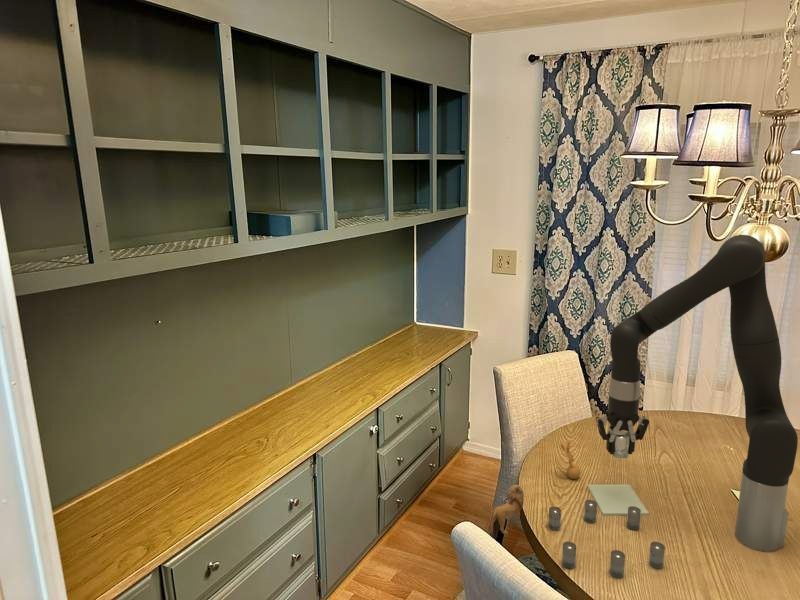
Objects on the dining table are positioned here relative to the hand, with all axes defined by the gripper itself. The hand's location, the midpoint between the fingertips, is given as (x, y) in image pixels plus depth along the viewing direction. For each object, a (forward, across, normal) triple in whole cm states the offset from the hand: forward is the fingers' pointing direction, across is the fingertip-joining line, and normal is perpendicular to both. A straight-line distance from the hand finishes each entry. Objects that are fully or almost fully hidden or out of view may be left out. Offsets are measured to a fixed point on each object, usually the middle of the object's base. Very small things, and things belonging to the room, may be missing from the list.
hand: (619, 452), depth 149 cm
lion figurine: (+15, +32, +11) cm, 37 cm away
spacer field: (+14, +10, +19) cm, 26 cm away
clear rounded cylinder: (0, 0, 0) cm, 0 cm away
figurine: (+15, +10, -12) cm, 21 cm away
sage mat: (+14, 0, 0) cm, 14 cm away
